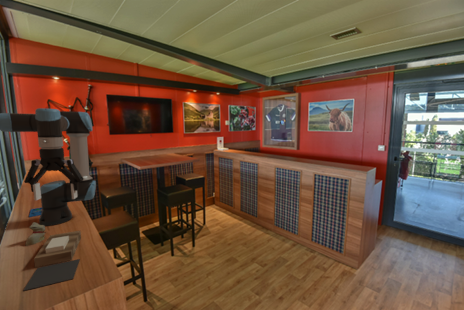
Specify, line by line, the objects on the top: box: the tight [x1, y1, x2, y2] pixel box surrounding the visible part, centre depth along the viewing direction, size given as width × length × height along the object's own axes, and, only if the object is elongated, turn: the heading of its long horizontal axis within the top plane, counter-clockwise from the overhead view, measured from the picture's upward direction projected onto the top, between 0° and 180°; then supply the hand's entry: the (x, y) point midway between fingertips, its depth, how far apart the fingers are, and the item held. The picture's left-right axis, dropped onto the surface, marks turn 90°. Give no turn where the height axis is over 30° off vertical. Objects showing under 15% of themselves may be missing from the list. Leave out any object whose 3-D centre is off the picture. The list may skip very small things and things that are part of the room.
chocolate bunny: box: [25, 222, 46, 247], centre depth 104 cm, size 6×8×10 cm
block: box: [45, 236, 69, 253], centre depth 93 cm, size 9×6×2 cm, turn 26°
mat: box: [22, 258, 81, 292], centre depth 82 cm, size 13×14×1 cm
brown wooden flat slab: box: [33, 230, 82, 269], centre depth 96 cm, size 20×12×4 cm, turn 26°
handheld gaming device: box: [28, 206, 42, 218], centre depth 139 cm, size 8×1×15 cm
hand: (56, 198), depth 88 cm, fingers open, 13 cm apart
